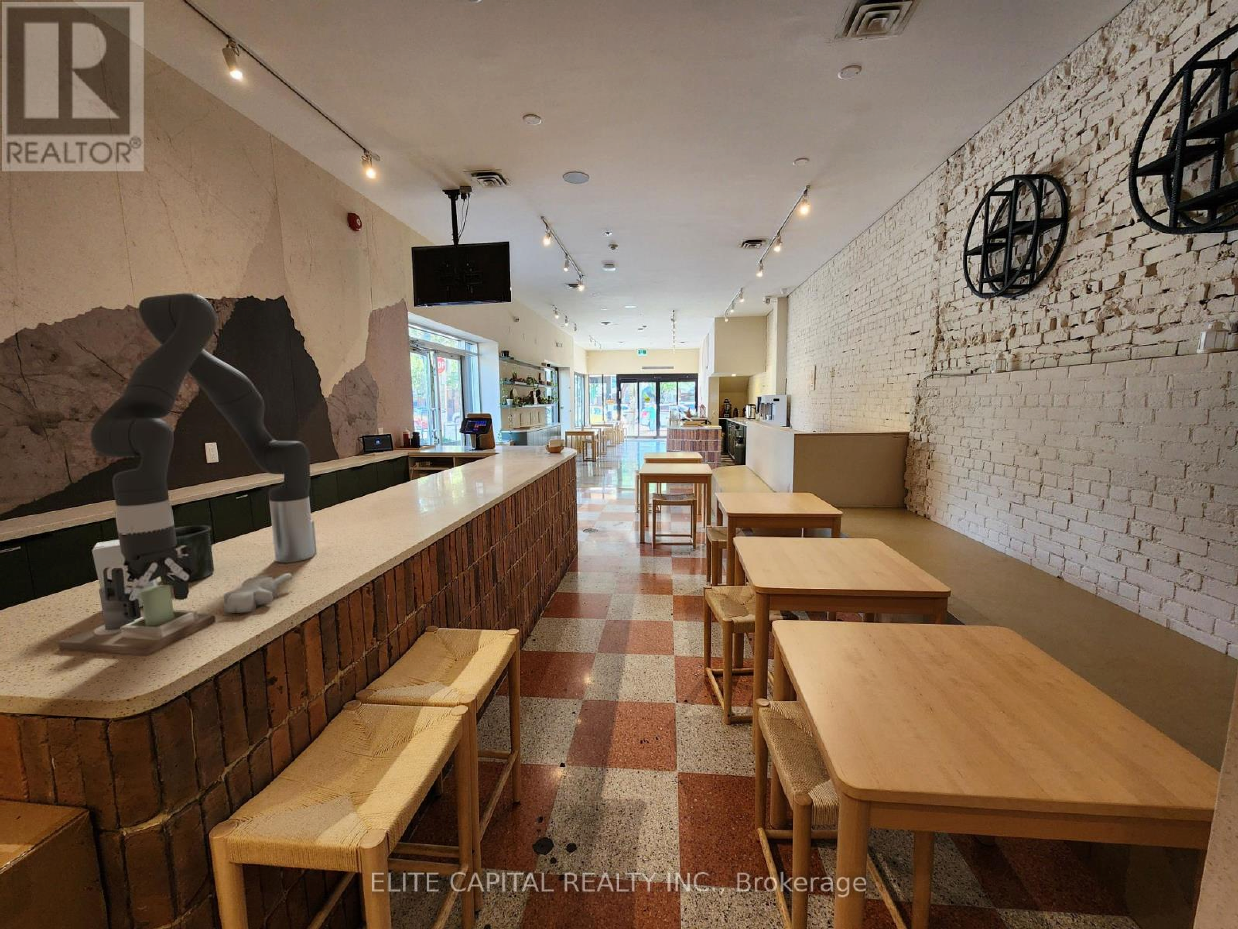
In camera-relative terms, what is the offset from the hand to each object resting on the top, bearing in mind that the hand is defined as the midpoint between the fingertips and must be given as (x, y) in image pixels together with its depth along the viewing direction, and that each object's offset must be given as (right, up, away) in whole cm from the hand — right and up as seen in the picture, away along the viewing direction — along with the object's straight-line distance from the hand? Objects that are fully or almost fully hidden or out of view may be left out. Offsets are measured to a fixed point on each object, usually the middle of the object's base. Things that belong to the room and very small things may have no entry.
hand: (158, 608), depth 92 cm
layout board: (-4, -5, +1) cm, 7 cm away
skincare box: (-19, -4, +14) cm, 24 cm away
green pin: (0, -4, +1) cm, 4 cm away
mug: (-22, -1, +32) cm, 39 cm away
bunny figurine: (+7, -4, +16) cm, 18 cm away
